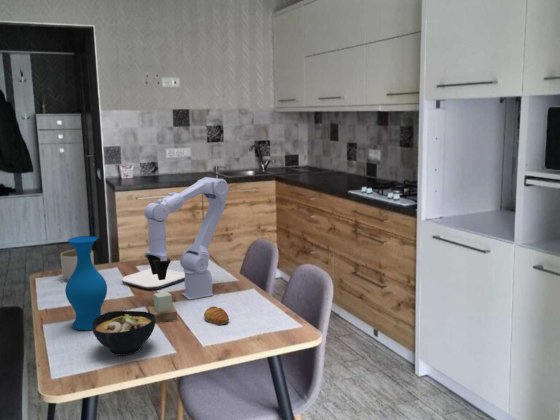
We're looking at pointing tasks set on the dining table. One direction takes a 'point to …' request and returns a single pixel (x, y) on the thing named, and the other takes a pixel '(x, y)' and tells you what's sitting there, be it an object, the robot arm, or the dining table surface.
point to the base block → (163, 314)
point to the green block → (162, 301)
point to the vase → (85, 285)
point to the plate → (153, 279)
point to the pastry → (216, 316)
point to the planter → (70, 262)
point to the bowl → (123, 330)
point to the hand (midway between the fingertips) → (158, 276)
